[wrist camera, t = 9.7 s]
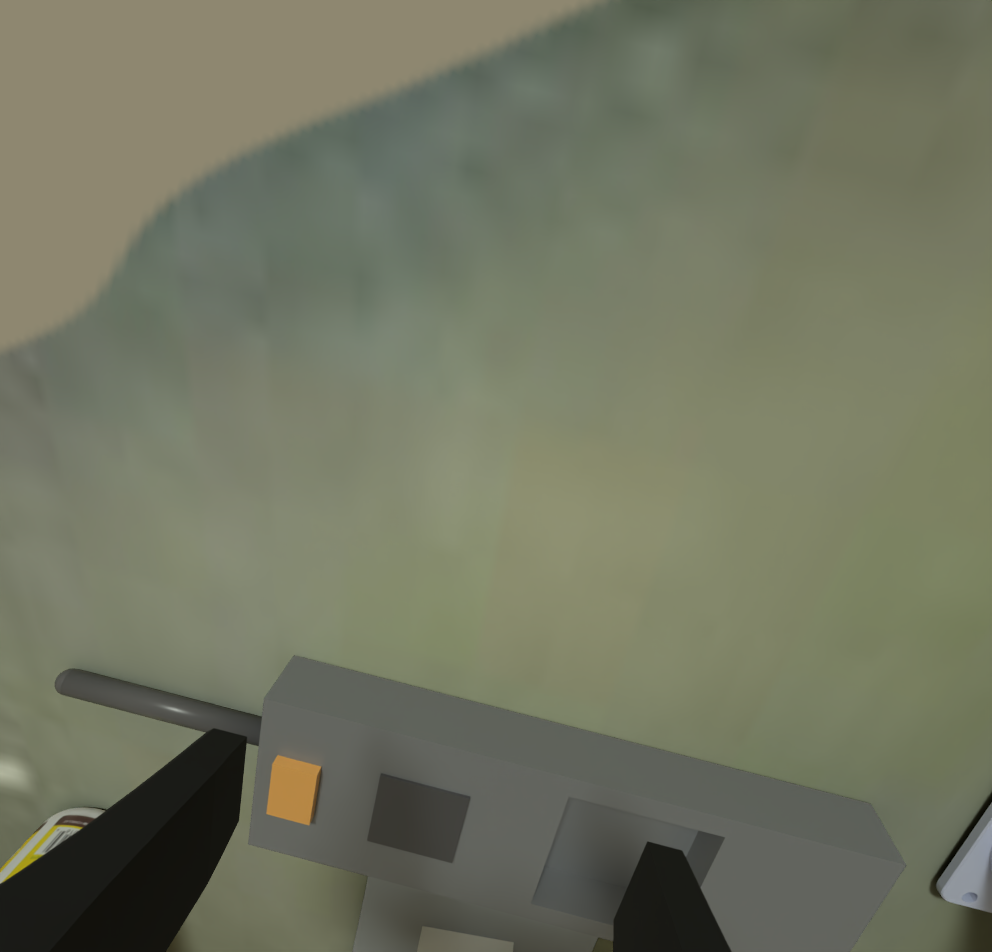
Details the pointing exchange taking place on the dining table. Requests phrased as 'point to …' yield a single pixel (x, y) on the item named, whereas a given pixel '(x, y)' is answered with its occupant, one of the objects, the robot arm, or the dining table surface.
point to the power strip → (532, 809)
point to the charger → (459, 942)
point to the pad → (450, 922)
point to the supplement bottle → (48, 838)
